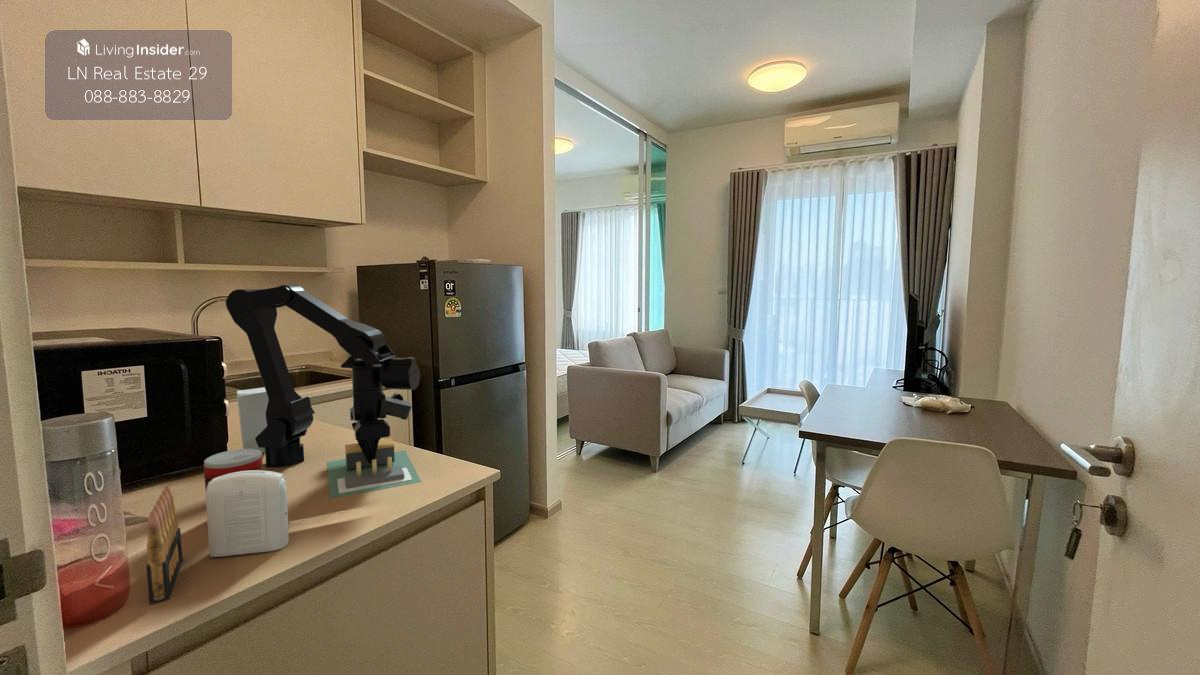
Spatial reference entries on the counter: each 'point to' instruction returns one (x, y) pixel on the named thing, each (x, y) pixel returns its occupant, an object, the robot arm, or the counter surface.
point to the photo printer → (247, 513)
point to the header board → (370, 475)
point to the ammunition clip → (163, 548)
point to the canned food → (232, 463)
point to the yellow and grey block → (356, 455)
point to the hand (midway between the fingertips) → (370, 459)
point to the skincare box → (252, 415)
